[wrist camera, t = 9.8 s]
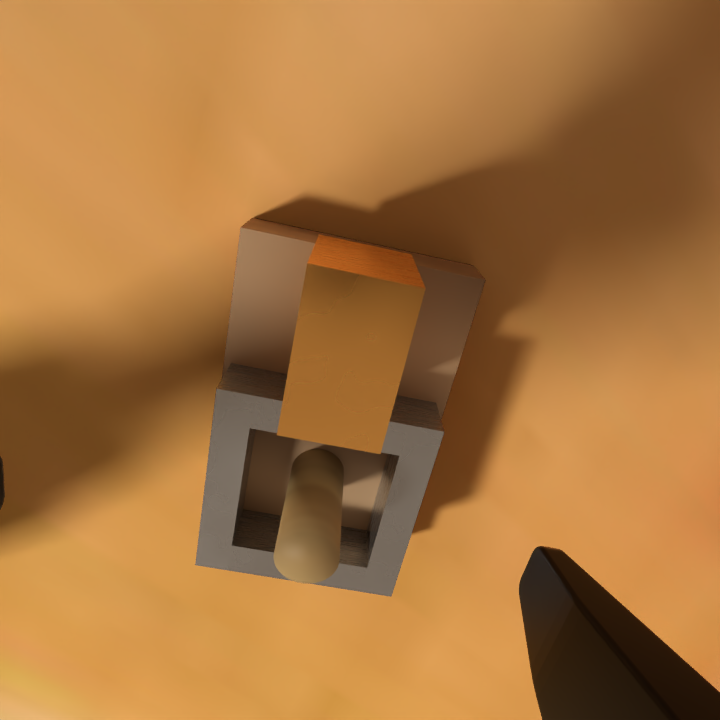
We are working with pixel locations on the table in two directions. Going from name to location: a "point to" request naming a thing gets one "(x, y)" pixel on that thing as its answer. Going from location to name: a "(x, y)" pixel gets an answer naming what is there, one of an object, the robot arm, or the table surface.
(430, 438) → the link
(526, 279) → the table surface
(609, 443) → the table surface
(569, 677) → the robot arm
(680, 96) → the table surface
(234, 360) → the keeper
